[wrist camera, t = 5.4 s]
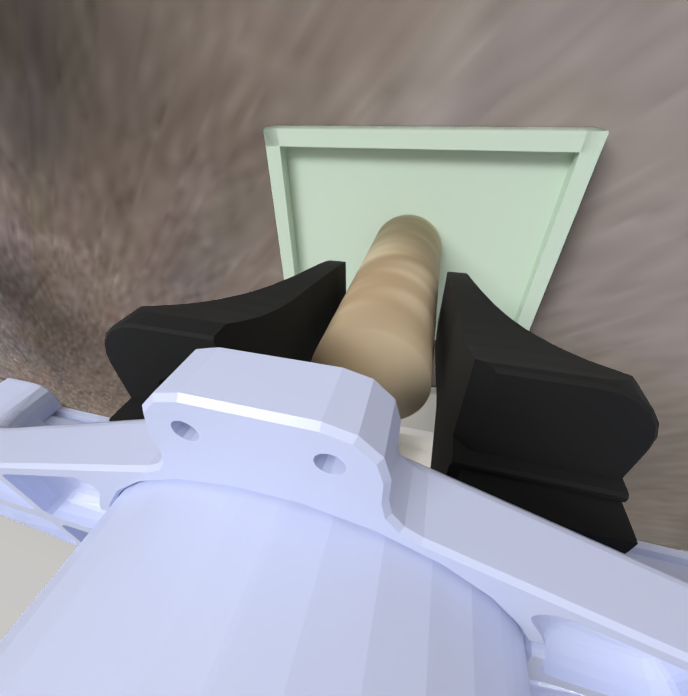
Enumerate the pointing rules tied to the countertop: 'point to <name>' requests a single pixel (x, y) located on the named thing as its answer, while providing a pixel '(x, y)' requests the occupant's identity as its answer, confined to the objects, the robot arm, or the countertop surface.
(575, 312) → the countertop surface
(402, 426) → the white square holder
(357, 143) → the tray
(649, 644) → the robot arm
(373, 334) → the dowel
